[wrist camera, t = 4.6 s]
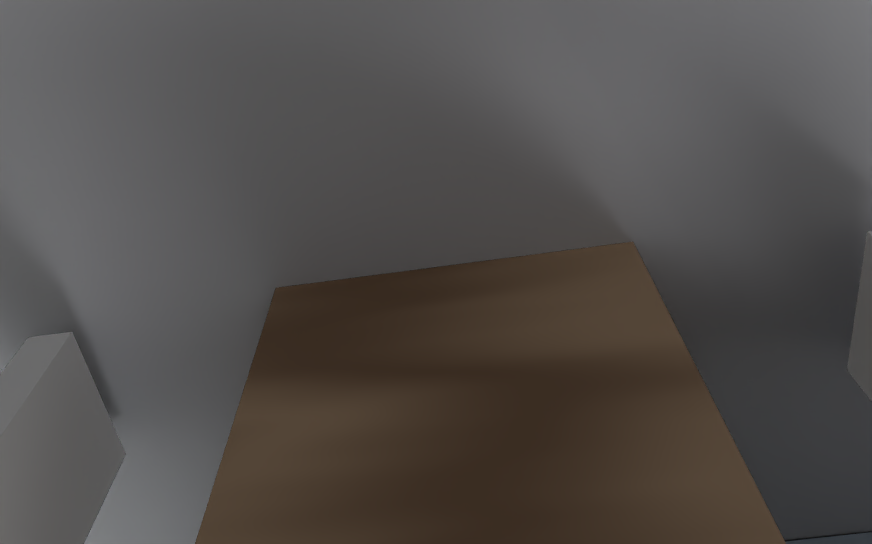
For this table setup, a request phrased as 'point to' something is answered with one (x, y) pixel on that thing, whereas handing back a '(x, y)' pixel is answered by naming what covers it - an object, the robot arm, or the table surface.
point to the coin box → (838, 539)
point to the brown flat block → (481, 415)
